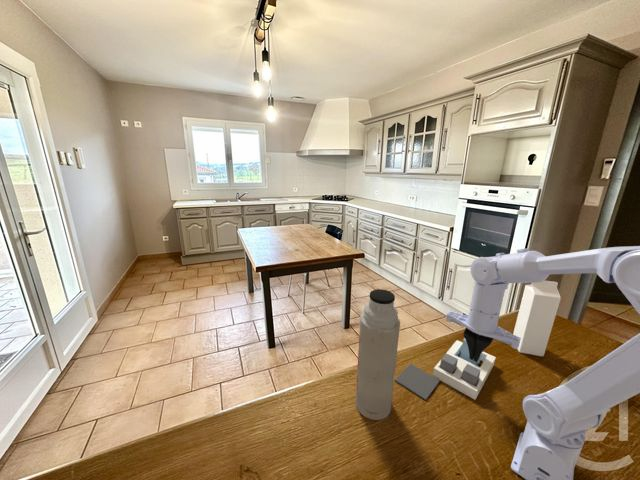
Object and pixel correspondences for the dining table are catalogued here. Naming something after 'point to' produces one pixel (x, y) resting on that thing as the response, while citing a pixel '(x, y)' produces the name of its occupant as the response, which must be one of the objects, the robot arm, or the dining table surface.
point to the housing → (455, 378)
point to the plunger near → (471, 374)
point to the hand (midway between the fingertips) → (474, 358)
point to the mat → (417, 381)
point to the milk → (536, 316)
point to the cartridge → (467, 353)
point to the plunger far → (448, 363)
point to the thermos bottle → (377, 355)
